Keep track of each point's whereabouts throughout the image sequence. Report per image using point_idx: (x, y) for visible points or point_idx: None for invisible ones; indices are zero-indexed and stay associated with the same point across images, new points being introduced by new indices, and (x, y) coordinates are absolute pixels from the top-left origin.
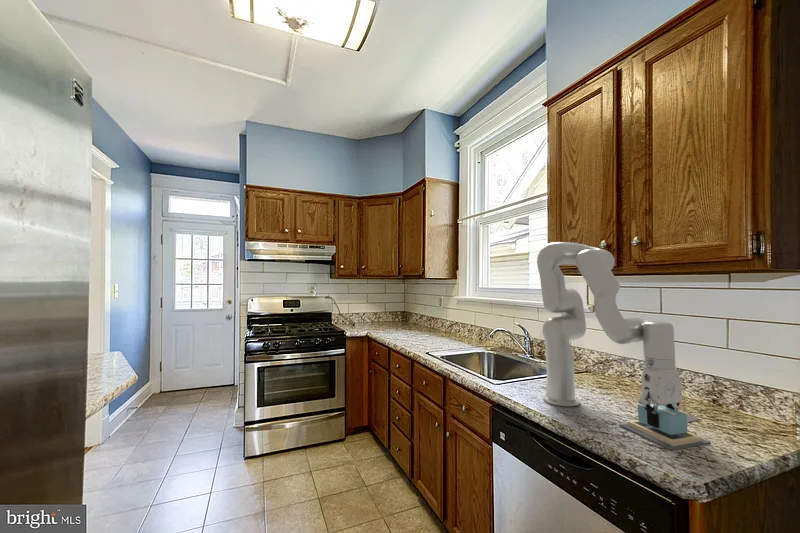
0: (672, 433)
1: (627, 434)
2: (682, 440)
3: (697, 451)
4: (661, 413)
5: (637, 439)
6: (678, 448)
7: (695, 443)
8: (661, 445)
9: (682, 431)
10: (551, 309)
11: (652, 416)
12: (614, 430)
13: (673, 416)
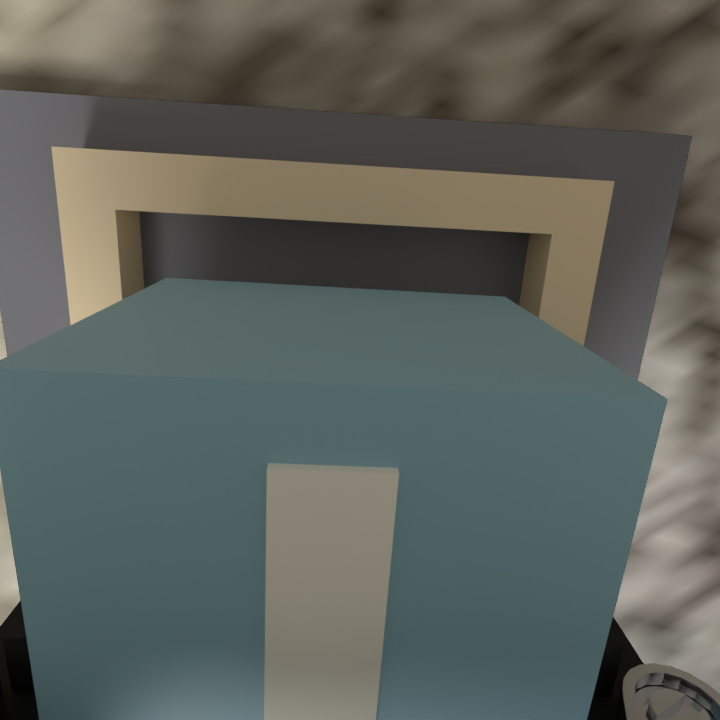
0: (475, 300)
1: (670, 578)
2: (434, 171)
3: (384, 3)
4: (611, 621)
5: (701, 471)
6: (566, 129)
7: (229, 133)
8: (654, 269)
9: (269, 287)
10: None
11: (630, 648)
12: (691, 670)
13: (530, 394)
